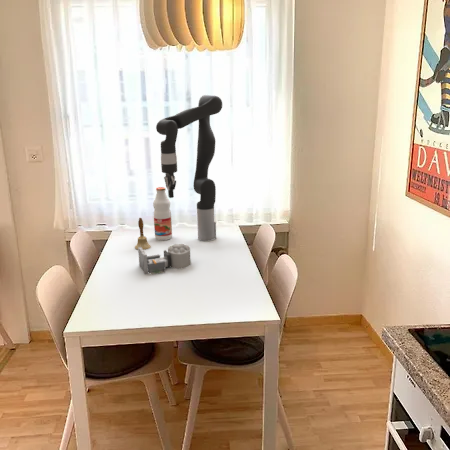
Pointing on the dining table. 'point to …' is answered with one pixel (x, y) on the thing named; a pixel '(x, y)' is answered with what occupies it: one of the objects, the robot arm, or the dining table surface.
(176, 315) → the dining table surface
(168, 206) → the fruit juice
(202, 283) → the dining table surface
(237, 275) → the dining table surface
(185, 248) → the paw print stamp
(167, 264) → the grey boxy piece
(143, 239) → the hand bell
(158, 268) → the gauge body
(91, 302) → the dining table surface
